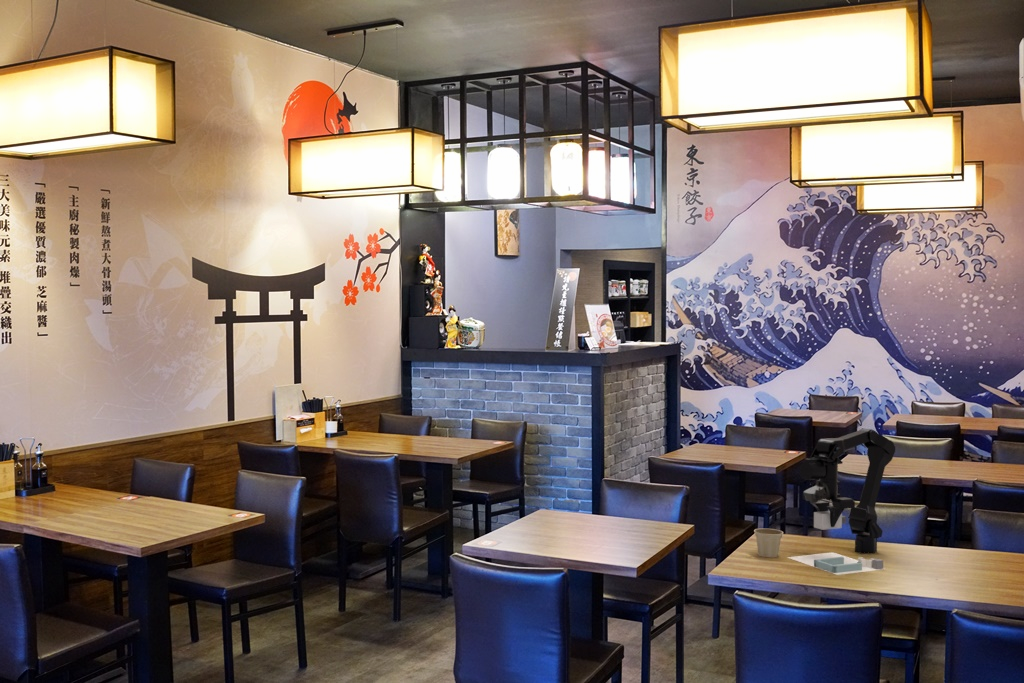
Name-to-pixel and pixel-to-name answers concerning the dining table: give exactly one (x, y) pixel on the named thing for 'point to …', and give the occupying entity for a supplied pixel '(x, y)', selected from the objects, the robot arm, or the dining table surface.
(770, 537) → the flower pot
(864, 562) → the clips
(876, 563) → the grey blocky piece
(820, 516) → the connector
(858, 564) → the holder
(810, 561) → the board
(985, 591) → the dining table surface
